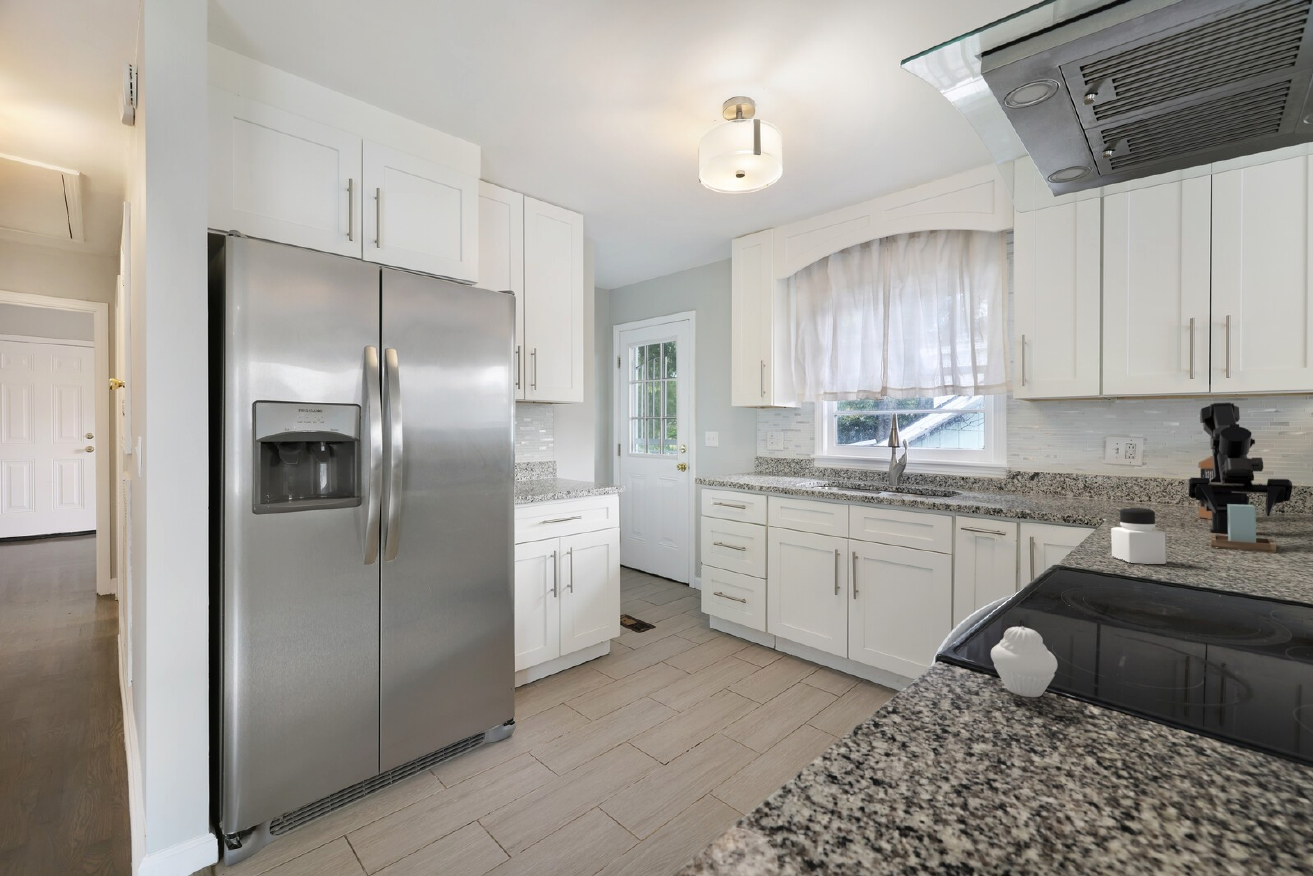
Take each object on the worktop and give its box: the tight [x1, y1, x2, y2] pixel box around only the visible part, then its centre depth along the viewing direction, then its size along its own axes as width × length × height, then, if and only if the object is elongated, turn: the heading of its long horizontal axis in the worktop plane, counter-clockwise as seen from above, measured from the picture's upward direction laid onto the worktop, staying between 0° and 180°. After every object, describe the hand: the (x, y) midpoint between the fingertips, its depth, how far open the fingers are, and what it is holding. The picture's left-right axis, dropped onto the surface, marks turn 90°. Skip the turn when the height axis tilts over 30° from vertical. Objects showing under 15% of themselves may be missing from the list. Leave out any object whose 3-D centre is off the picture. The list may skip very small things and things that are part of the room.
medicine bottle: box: [1110, 507, 1167, 564], centre depth 130 cm, size 7×7×12 cm
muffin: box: [990, 625, 1058, 698], centre depth 62 cm, size 6×6×7 cm
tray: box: [1210, 534, 1277, 554], centre depth 146 cm, size 11×11×2 cm
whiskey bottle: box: [1198, 455, 1227, 518], centre depth 199 cm, size 10×10×32 cm
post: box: [1227, 504, 1257, 543], centre depth 146 cm, size 4×4×10 cm
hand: (1241, 513), depth 145 cm, fingers open, 9 cm apart
